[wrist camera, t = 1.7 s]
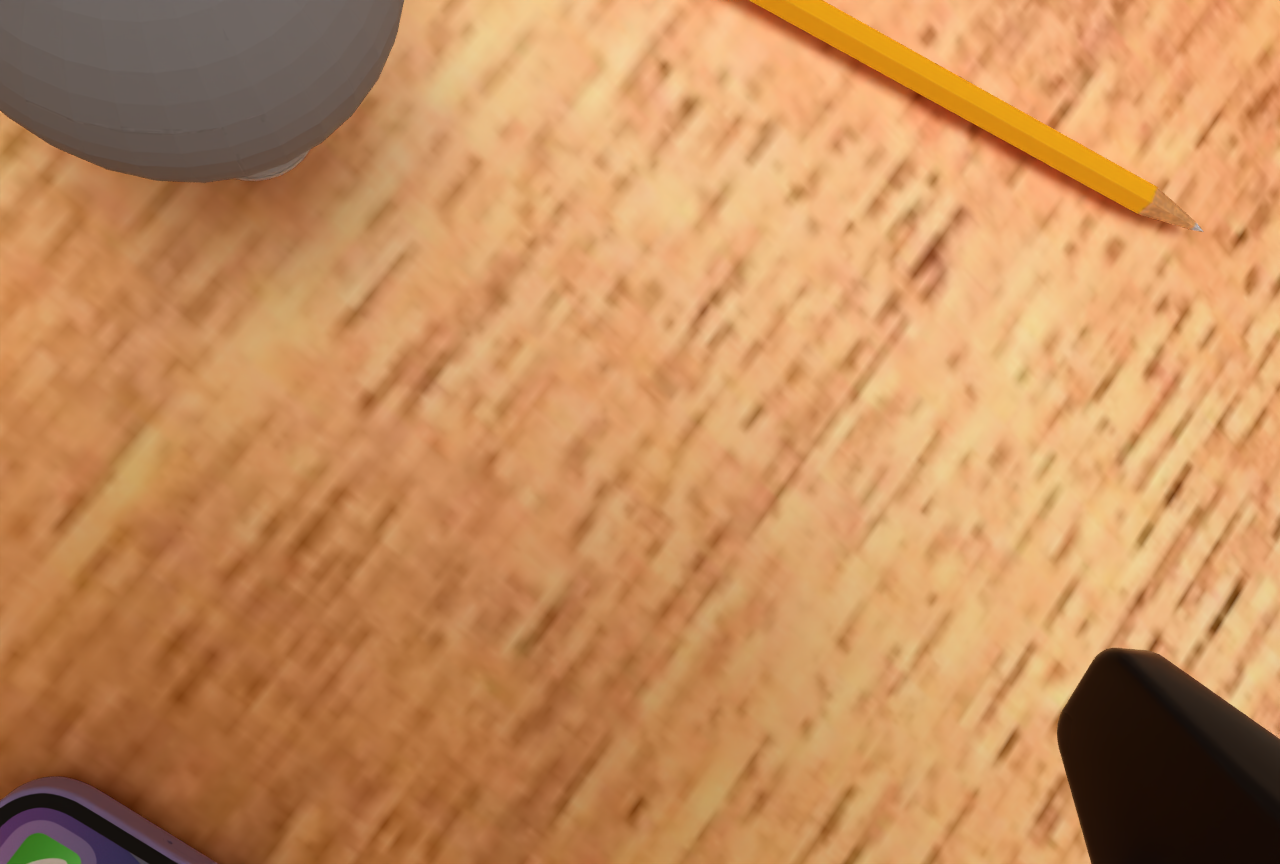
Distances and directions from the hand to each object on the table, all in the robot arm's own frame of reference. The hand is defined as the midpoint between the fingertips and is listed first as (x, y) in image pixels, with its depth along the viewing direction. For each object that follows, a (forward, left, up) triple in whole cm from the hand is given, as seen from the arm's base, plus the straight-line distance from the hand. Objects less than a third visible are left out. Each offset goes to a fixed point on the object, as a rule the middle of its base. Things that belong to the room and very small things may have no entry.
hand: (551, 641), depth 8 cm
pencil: (+13, 0, -13) cm, 19 cm away
